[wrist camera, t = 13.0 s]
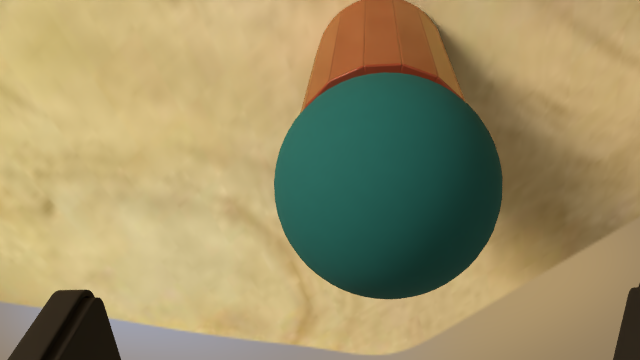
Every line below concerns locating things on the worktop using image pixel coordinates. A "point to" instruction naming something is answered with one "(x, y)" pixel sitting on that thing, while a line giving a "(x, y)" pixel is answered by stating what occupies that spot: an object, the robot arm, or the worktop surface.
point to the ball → (388, 185)
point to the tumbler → (380, 47)
